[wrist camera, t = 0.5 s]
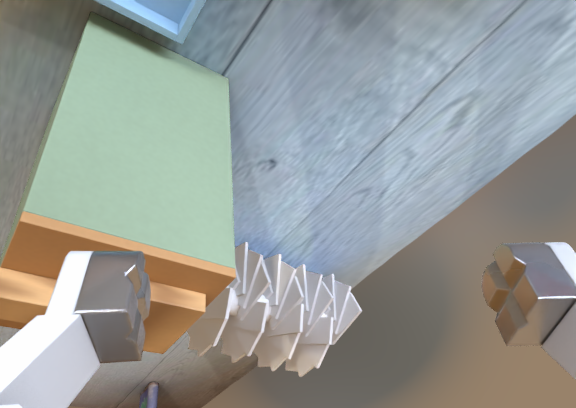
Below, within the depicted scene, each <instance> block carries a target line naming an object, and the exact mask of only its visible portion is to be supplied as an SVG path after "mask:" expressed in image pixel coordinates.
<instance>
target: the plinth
mask: <svg viewBox="0 0 576 408" xmlns="http://www.w3.org/2000/svg"><path fill="white" fill-rule="evenodd" d="M70 251H142V252H143V254H144V257H145V261H146V262H145V268H144V272H145V273H147V274H148V275H149V280H150V281H152V282H156V283H161V284H165V285H169V286H173V287H178V288H182V289H186V290H190V291H195V292H199V293H203V294H206V307H207V306H208V305H209V304H210V303H211V302H212V301H213V300H214V299H215V298H216V297H217V296H218V295H219V294H220V293H221V292H222V291H223V290H224V289H225V288H226V287H227V286H228V285H229V284H230V283H231V282H232V281H233V280H234V279H235V278H236V269H235V268H236V267H235V241H234V214H233V187H232V160H231V133H230V106H229V79H228V78H226V77H224V76H222V75H220V74H218V73H216V72H214V71H212V70H210V69H208V68H206V67H203V66H201V65H199V64H197V63H195V62H193V61H191V60H189V59H187V58H185V57H183V56H181V55H179V54H177V53H175V52H173V51H171V50H169V49H167V48H165V47H163V46H160V45H158V44H156V43H154V42H152V41H150V40H148V39H146V38H144V37H142V36H140V35H138V34H136V33H134V32H132V31H130V30H128V29H126V28H124V27H122V26H120V25H118V24H115V23H113V22H111V21H109V20H107V19H105V18H103V17H101V16H99V15H97V14H95V13H93V12H91V13H90V15H89V18H88V20H87V23H86V25H85V28H84V31H83V33H82V36H81V38H80V41H79V44H78V46H77V49H76V51H75V54H74V57H73V59H72V62H71V64H70V67H69V70H68V72H67V75H66V77H65V80H64V82H63V85H62V88H61V90H60V93H59V95H58V98H57V101H56V103H55V106H54V108H53V111H52V114H51V116H50V119H49V122H48V125H47V128H46V131H45V133H44V136H43V139H42V142H41V145H40V148H39V151H38V153H37V156H36V159H35V162H34V165H33V168H32V170H31V173H30V176H29V179H28V182H27V185H26V188H25V190H24V193H23V196H22V199H21V202H20V205H19V207H18V210H17V213H16V216H15V219H14V222H13V225H12V227H11V230H10V233H9V236H8V239H7V242H6V244H5V247H4V250H3V253H2V256H1V259H0V267H1V268H5V269H10V270H15V271H19V272H24V273H29V274H33V275H38V276H42V277H47V278H52V279H56V280H57V278H58V276H59V273H60V270H61V267H62V264H63V262H64V259H65V257H66V255H67V254H68V253H69V252H70ZM26 325H27V323H21V322H15V321H9V320H3V319H0V326H5V327H11V328H17V329H22V328H23V327H24V326H26Z"/></svg>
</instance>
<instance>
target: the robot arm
mask: <svg viewBox="0 0 576 408" xmlns="http://www.w3.org/2000/svg"><path fill="white" fill-rule="evenodd" d="M493 256H494V258H495V260H496V261H494V262H493V263H491V264H490V265H488V266H487V267H486V269H485V271H484V273H483V275H482V292H483V296H484V298H485V301H486V303H487V305H488V306H489V307H491V308H492V309H493V310H494V311H496V312H497V316H496V320H495V322H496V325H497V327H498V329H499V331H500V333H501V335H502V337H503V339H504V342H505V344H506V346H529V345H530V346H531V345H532V346H534V345H535V346H538V345H542V347H541V348H542V349H543V350H544V351H546V352H547V353H548V354H549V355H550V356H551V357H552V358H553V359H554V360H555V361H556V362H557V363H558V364H559V365H560V366H562V367H563V368H564V369H565V370H566V371H567V372H568V373H569V374H570V375H571V376H572V377H573V378H574V379H575V380H576V253H575V252H574V251H573V249H572V248H571V247H570V246H569V245H568V244H567V243H565V242H550V243H540V242H539V243H510V244H501V245H499V246H498V247H497V248H496V250H495V251H494V253H493ZM145 262H146V261H145V257H144V254H143V252H142V251H70V252H69V253H68V254H67V255H66V257H65V259H64V262H63V264H62V267H61V270H60V273H59V276H58V278H57V281H56V284H55V287H54V290H53V293H52V295H51V298H50V301H49V304H48V307H47V309H46V312H45V315H37V316H36V317H35V318H34V319H32V320H31V321H30V322H29V323H28V324H27V325H26V326H24V327H23V328H22V329H21V330H20V331H19V332H17V333H16V334H15V335H14V336H13V337H12V338H11V339H9V340H8V341H7V342H6V343H5V344H4V345H3V346H1V347H0V408H68V406H69V405H70V404H71V403H72V401H73V400H74V399H75V397H76V396H77V395H78V394H79V392H80V391H81V390H82V389H83V387H84V386H85V385H86V384H87V382H88V381H89V380H90V379H91V377H92V376H93V375H94V374H95V372H96V371H97V370H98V369H99V367H100V366H101V364H100V363H111V362H126V361H141V358H142V352H143V346H144V340H145V334H146V333H145V329H144V324H143V321H144V320H145V319H146V318H147V317H148V316H149V309H150V297H151V288H150V280H149V275H148V274H147V273H145V272H144V268H145Z"/></svg>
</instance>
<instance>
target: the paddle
mask: <svg viewBox="0 0 576 408" xmlns="http://www.w3.org/2000/svg"><path fill="white" fill-rule="evenodd" d="M56 281H57V280H56V279H52V278H47V277H42V276H38V275H33V274H29V273H24V272H19V271H15V270H10V269H5V268H1V267H0V319H3V320H9V321H15V322H21V323H27V324H28V323H29V322H30V321H31V320H32V319H34V318H35V317H36V316H37V315H45V312H46V309H47V307H48V304H49V301H50V298H51V295H52V293H53V290H54V287H55V284H56ZM150 288H151V297H150V309H149V316H148V317H147V318H146V319H145V320H144V321H143V324H144V329H145V333H146V334H145V340H144V346H143V351H148V352H154V353H160V354H164V353H165V352H166V351H167V350H168V349H169V348H170V347H171V346H172V345H173V344H174V343H175V342H176V341H177V340H178V339H179V338H180V337H181V336H182V335H183V334H184V333H185V332H186V331H187V330H188V329H189V328H190V327H191V326H192V325H193V324H194V323H195V322H196V321H197V320H198V319H199V318H200V317H201V316H202V315H203V314H204V313H205V311H206V294H203V293H199V292H195V291H190V290H186V289H182V288H178V287H173V286H169V285H165V284H161V283H156V282H152V281H150Z"/></svg>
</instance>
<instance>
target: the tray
mask: <svg viewBox="0 0 576 408" xmlns="http://www.w3.org/2000/svg"><path fill="white" fill-rule="evenodd" d="M94 1H96V2H98V3H100V4H102V5H104V6H106V7H108V8H110V9H112V10H114V11H116V12H118V13H120V14H122V15H124V16H126V17H128V18H130V19H132V20H134V21H136V22H138V23H140V24H142V25H144V26H146V27H148V28H150V29H152V30H154V31H156V32H158V33H160V34H162V35H164V36H166V37H168V38H170V39H172V40H175V41H176V42H178V43H180V44H183V42H184V40H185V39H186V37H187V35H188V33H189V31H190V29H191V28H192V26H193V24H194V22H195V20H196V18H197V17H198V15H199V13H200V11H201V9H202V8H203V6H204V4H205V2H206V0H94Z"/></svg>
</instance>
